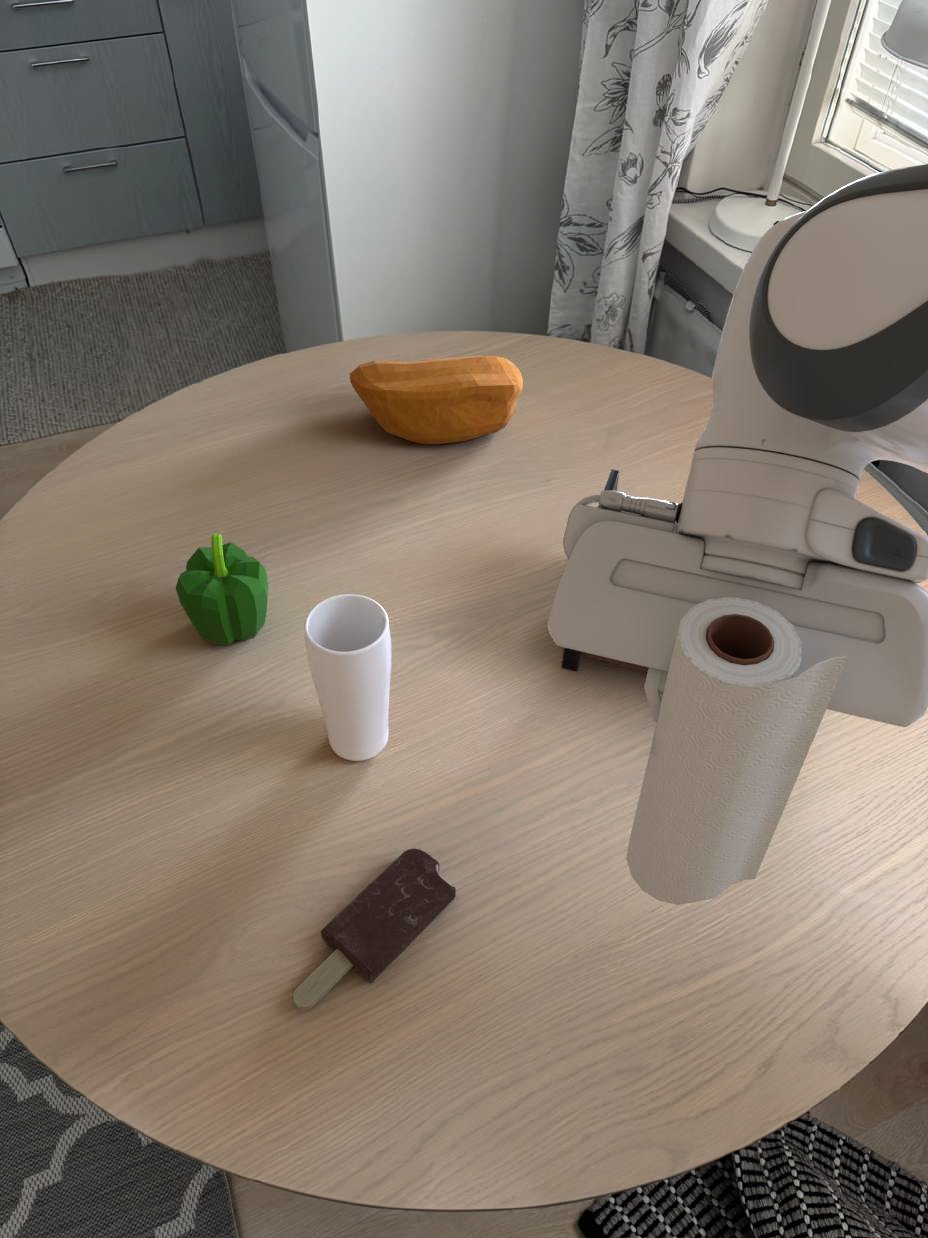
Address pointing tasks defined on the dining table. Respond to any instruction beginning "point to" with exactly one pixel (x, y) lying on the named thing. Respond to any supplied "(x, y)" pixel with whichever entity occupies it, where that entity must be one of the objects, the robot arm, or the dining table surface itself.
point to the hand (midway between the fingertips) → (704, 766)
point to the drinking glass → (351, 672)
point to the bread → (440, 396)
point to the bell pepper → (224, 592)
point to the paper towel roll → (725, 749)
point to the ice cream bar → (379, 923)
